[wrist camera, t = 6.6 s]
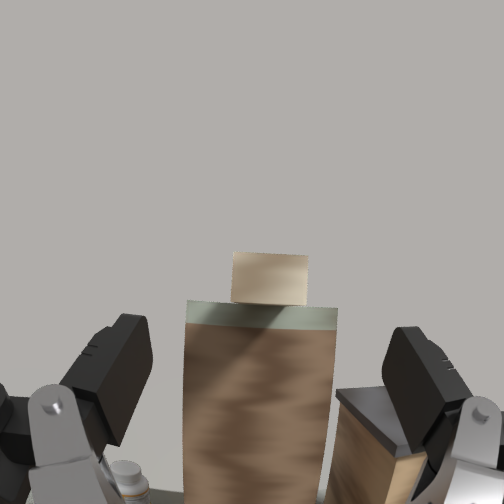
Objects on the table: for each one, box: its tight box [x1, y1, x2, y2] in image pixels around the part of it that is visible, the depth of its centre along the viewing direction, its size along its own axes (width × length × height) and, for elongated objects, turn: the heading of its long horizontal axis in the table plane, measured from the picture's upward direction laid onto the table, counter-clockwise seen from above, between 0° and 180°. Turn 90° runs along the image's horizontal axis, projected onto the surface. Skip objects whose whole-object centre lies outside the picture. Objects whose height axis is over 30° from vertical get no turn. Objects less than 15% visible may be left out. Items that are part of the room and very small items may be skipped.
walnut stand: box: [183, 300, 338, 504], centre depth 24 cm, size 10×14×32 cm
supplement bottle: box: [110, 460, 151, 504], centre depth 27 cm, size 6×6×10 cm
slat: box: [231, 252, 308, 306], centre depth 23 cm, size 3×22×2 cm, turn 0°
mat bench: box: [324, 386, 427, 504], centre depth 22 cm, size 11×17×22 cm, turn 0°
